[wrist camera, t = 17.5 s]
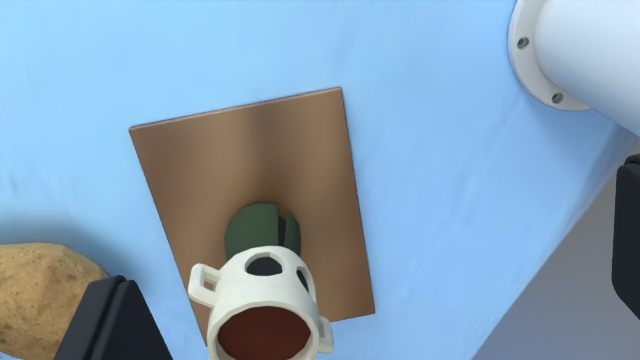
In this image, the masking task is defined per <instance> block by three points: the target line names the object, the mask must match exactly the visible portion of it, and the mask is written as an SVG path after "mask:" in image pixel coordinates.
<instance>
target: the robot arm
mask: <svg viewBox="0 0 640 360" xmlns="http://www.w3.org/2000/svg"><path fill="white" fill-rule="evenodd" d="M520 39H521V42H520V43H519V44H518V41H519V40H520ZM508 53H509V60H510V64H511V66H512V69H513V72H514V74H515V76H516V78H517V79H518V81H519V82H520V84H521V85H522V87H523V88H524V89H525V90H526V91H527V92H528V93H529V94H531V95H532V96H533V97H534V98H536V99H538V100H539V101H540V102H542V103H544V104H546V105H548V106H550V107H552V108H556V109H561V110H566V111H585V110H590V109H594V110H596V111H597V112H599V113H601V114H602V115H604V116H606V117H607V118H609V119H610V120H612V121H614V122H615V123H617V124H619V125H620V126H622V127H623V128H625V129H627V130H628V131H630V132H632V133H633V134H635V135H636V136H638V137H640V0H518V1H517V3H516V5H515V8H514V10H513V13H512V17H511V21H510V25H509V30H508ZM612 284H613V286H614V289H615V291H616V293H617V295H618V296H619V297H620V299H621V300H622V301H623V302H624V303H625V304H626V305H627V306H628V307H629V309H630V310H631V311H632V312H633V313H634V314H635V315H636V316H637V317H638V319H639V320H640V154H636V155H632V156H629V157H628V158H627V159H626V161H625V163H624V166H620V167H619V168H618V170H617V179H616V198H615V218H614V238H613V258H612ZM53 360H173V358H172V356H171V354H170V352H169V350H168V348H167V346H166V344H165V342H164V340H163V337H162V335H161V333H160V331H159V329H158V327H157V325H156V323H155V321H154V318H153V316H152V314H151V312H150V310H149V308H148V306H147V304H146V302H145V300H144V297H143V295H142V293H141V291H140V289H139V287H138V285H137V283H136V282H135V281H134V280H129V281H127V280H126V278H124V277H123V276H121V275H118V276H113V277H109V278H105V279H100V280H96V281H92V282H90V283H89V284H88V286H87V288H86V290H85V292H84V294H83V296H82V298H81V301H80V303H79V305H78V307H77V309H76V311H75V313H74V316H73V318H72V320H71V322H70V324H69V326H68V329H67V331H66V333H65V335H64V337H63V339H62V341H61V344H60V346H59V348H58V350H57V352H56V354H55V357H54V359H53Z"/></svg>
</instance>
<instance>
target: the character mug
mask: <svg viewBox="0 0 640 360" xmlns="http://www.w3.org/2000/svg"><path fill="white" fill-rule="evenodd" d="M224 244H225V253H226V260H227V263H226V264H225V265H224V266H223V267H222V268H221V269H220V270H219V271H218V270H216V269H214V268H212V267H209V266H207V265H205V264H200V263H198V264H196V265H194V267H193V268H192V270H191V275H190V281H189V286H188V295H189V298H191V299H192V300H193V301H195V302H198V303H200V304H203V305H205V306H207V307H210V314H209V322H208V331H207V345H208V352H209V358H210V360H314V359H315V357H316V354H317V352H320V353H324V354H328V353H331V352H332V349H333V344H334V342H333V336H332V330H331V324H330V322H329V320H328V319H327V318H326V317H324V316H322V315H320V314H319V309H318V306H317V298H316V287H315V284H314V281H313V278H312V275H311V273H310V272H309V270H308V268H307V266H306V264H305V263H304V262H303V261H302V260H301V259H300V255H301V233H300V226H299V223H298V222H297V220H296V219H295V218H294V216H293V215H292V213H291V212H289V211H287V222H286V221H285V220H284V219H283V218H282V217H281V216H278V206H277V205H275V204H261V203H257V204H254V205H251V206H248V207H246V208H243V209H240V211H239V212H238V213H237V214H236V215H235V216H234V217H233V218H232V219H231V220H230V221H229V223H228V226H227V229H226V232H225V235H224ZM204 281H206V282H209V283H211V284H213V290H212V291H211V290H208V289H206V288H204V286H203V285H204Z"/></svg>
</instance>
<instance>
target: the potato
mask: <svg viewBox="0 0 640 360" xmlns="http://www.w3.org/2000/svg"><path fill="white" fill-rule="evenodd" d="M109 277H110V275H109V274H108V273H107V272H106V271H105V270H104V269H103V268H102V267H101V266H100V265H98V264H97V263H95V262H93V261H92V260H90V259H89V258H87V257H85V256H84V255H82V254H80V253H78V252H77V251H75V250H73V249H71V248H69V247H67V246H65V245H61V244H54V243H47V242H31V243H18V244H0V352H3V353H5V354H7V355H10V356H12V357H15V358H19V359H23V360H53V359H54V357H55V354H56V352H57V350H58V348H59V346H60V344H61V341H62V339H63V337H64V335H65V333H66V331H67V329H68V326H69V324H70V322H71V320H72V318H73V316H74V313H75V311H76V309H77V307H78V305H79V303H80V301H81V298H82V296H83V294H84V292H85V290H86V288H87V286H88V284H89V283H90V282H92V281H96V280H100V279H105V278H109Z"/></svg>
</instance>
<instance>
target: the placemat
mask: <svg viewBox="0 0 640 360" xmlns="http://www.w3.org/2000/svg"><path fill="white" fill-rule="evenodd" d="M129 133H130V136H131V139H132V142H133V144H134V147H135V150H136V153H137V155H138V158H139V161H140V164H141V167H142V169H143V172H144V175H145V178H146V181H147V183H148V186H149V189H150V192H151V195H152V197H153V200H154V203H155V206H156V209H157V211H158V214H159V217H160V220H161V223H162V225H163V228H164V231H165V234H166V236H167V239H168V242H169V245H170V248H171V250H172V253H173V256H174V259H175V262H176V264H177V267H178V270H179V273H180V276H181V278H182V281H183V284H184V287H185V290H186V292H187V295H188V286H189V281H190V275H191V270H192V268H193V267H194V265H196V264H198V263H200V264H205V265H207V266H209V267H212V268H214V269H216V270H218V271H219V270H220V269H221V268H222V267H223V266H224V265H225V264H226V263H227V260H226V253H225V244H224V235H225V232H226V229H227V226H228V223H229V221H230V220H231V219H232V218H233V217H234V216H235V215H236V214H237V213H238V212H239V211H240V209H243V208H246V207H248V206H251V205H254V204H257V203H261V204H275V205H277V206H278V216H281V217H282V218H283V219H284V220H285V221H286V222H287V211H289V212H291V213H292V215H293V216H294V218H295V219H296V220H297V222H298V223H299V226H300V233H301V255H300V259H301V260H302V261H303V262H304V263H305V264H306V266H307V268H308V270H309V272H310V273H311V275H312V278H313V281H314V284H315V287H316V298H317V306H318V309H319V314H320V315H322V316H324V317H326V318H327V319H328V320H329V322H334V321H340V320H345V319H350V318H355V317H360V316H365V315H370V314H375V308H374V302H373V295H372V288H371V282H370V275H369V269H368V262H367V255H366V249H365V242H364V236H363V229H362V222H361V216H360V209H359V203H358V196H357V189H356V183H355V176H354V170H353V163H352V156H351V150H350V143H349V137H348V130H347V123H346V117H345V110H344V104H343V97H342V91H341V88H340V87H337V88H332V89H327V90H322V91H316V92H311V93H306V94H301V95H295V96H290V97H285V98H280V99H274V100H269V101H264V102H259V103H254V104H248V105H243V106H238V107H233V108H227V109H222V110H217V111H212V112H206V113H201V114H196V115H191V116H186V117H180V118H175V119H170V120H165V121H159V122H154V123H149V124H144V125H138V126H133V127H130V128H129ZM203 286H204V288H206V289H208V290H211V291H212V290H213V284H211V283H209V282H206V281H204V285H203ZM188 298H189V295H188ZM189 301H190V304H191V306H192V309H193V312H194V315H195V317H196V320H197V323H198V326H199V329H200V331H201V334H202V337H203V340H204V343H205V345H206V347H208V345H207V331H208V322H209V314H210V307H207V306H205V305H203V304H200V303H198V302H195V301H193V300H192V299H191V298H189Z"/></svg>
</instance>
